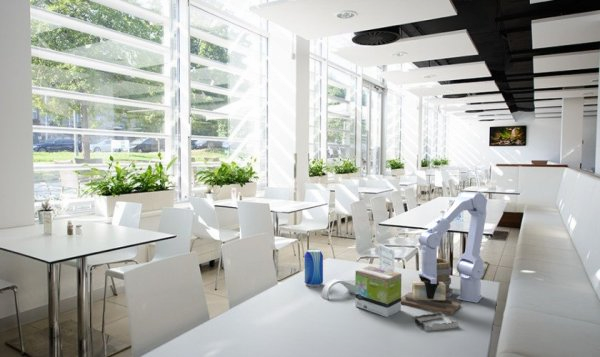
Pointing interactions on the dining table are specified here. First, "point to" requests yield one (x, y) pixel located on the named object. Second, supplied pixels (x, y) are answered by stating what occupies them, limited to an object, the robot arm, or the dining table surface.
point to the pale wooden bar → (421, 293)
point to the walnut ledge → (431, 304)
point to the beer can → (313, 268)
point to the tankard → (444, 273)
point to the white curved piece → (347, 283)
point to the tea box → (378, 290)
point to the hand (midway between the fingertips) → (428, 296)
